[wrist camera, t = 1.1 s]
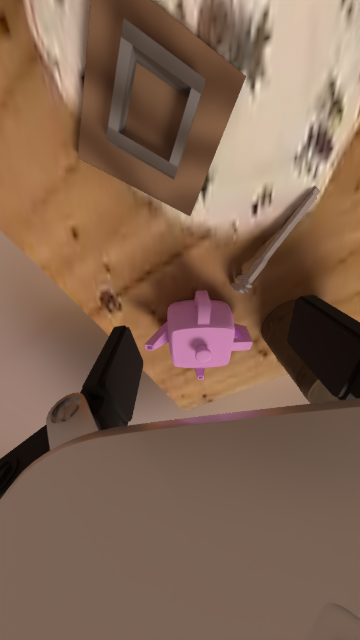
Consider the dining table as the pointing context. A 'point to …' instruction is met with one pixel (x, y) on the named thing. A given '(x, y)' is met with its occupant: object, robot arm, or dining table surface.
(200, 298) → the teakettle
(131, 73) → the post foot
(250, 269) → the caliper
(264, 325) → the wooden container
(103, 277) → the dining table surface
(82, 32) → the dining table surface
